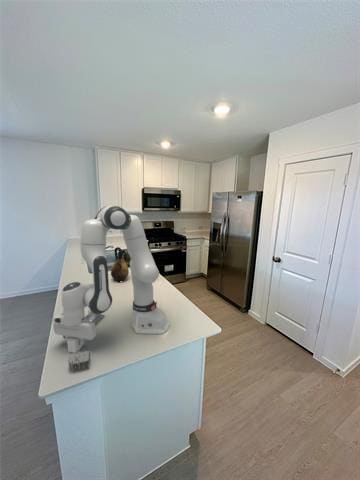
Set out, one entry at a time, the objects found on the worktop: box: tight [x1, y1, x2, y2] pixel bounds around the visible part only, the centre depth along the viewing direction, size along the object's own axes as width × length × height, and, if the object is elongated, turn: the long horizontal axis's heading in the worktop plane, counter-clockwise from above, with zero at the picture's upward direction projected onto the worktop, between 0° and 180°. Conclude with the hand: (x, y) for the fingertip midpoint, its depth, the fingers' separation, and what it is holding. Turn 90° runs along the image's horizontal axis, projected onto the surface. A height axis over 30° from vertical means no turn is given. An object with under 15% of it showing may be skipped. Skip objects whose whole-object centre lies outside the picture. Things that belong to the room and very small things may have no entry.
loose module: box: [66, 337, 85, 354], centre depth 94 cm, size 4×6×6 cm, turn 169°
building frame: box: [68, 347, 91, 373], centre depth 84 cm, size 6×8×6 cm
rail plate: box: [62, 309, 106, 339], centre depth 111 cm, size 10×23×6 cm, turn 169°
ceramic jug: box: [110, 246, 130, 282], centre depth 176 cm, size 17×15×30 cm
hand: (76, 343), depth 94 cm, fingers closed on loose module, 4 cm apart
